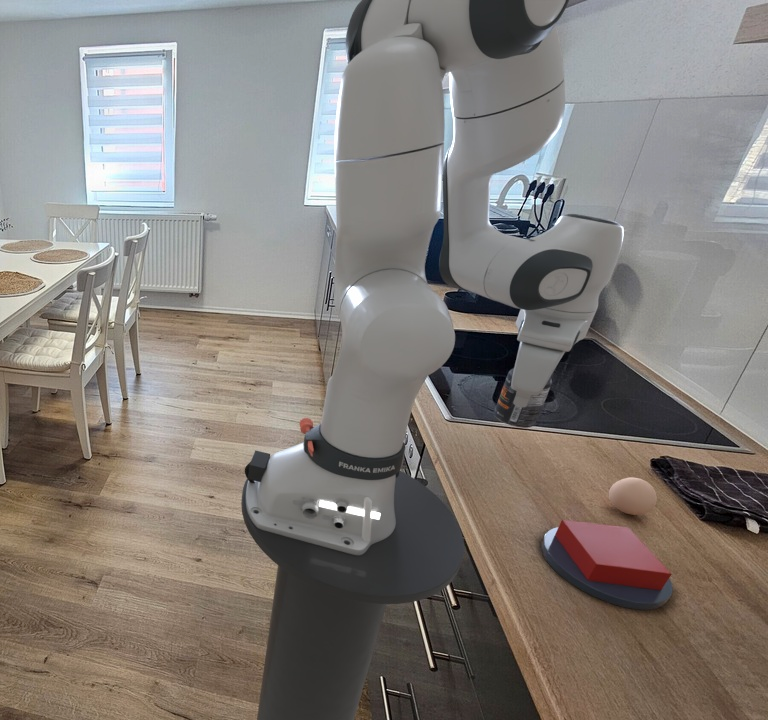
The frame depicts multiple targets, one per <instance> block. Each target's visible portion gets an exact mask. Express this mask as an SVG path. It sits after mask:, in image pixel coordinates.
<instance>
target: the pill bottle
mask: <svg viewBox="0 0 768 720" xmlns="http://www.w3.org/2000/svg"><path fill="white" fill-rule="evenodd" d="M513 371H514V367H513V368H511V369H510V370H508V373H507V376H506V378H505V381H504V383H503V386H502V388H501V391H500V394H499V397H498V400H497V403H496V405H495V408H494V410H493V415H494V417H495V418H496V419H497V420H498V421H500V422H501V423H504V424H506V425H508V426H511V427H515V428H519V429H520V428H521V429H522V428H523V429H524V428H525V429H528V428H533V427H534V426H535V425H536V423H537V422H538V421H537V420H538V418H539V416H540V414H541V411H542V408H543V406H544V403H545V401H546V399H547V397H548V394H549V392H550V389H551V386H552V384H553V379H552V376H551V377H550V378H549V380H548V382H547V384H546V385H545V387H544V388H543V390H542V391H541V393H540V394H539V395H536V396H535V395H531V397H530V399H529V401H528V404H527V406H526V407H520V406H516V405H514V404H513V402H514V399H515V396H516V392H517V391H516V390H513V389H512V388H511V381H512V376H513Z"/></svg>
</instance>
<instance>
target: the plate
mask: <svg viewBox="0 0 768 720" xmlns="http://www.w3.org/2000/svg"><path fill="white" fill-rule="evenodd" d="M558 527H559V526H556V527H553V528H551V529H549V530H548V531H547V532H546V533H545V534H544V536H543V538H542V541H541V546H540V547H541V552H542V555H543V557H544V559H545V561H546V562H547V563H548V564H549V566H550V567H551V568H552V569H553V570H554V571H555V572H556V573H557V574H558V575H559V576H561V577H562V578H563V579H564V580H565V581H567V582H568V583H570V584H571V585H573V586H574V587H576V588H577V589H579V590H581V591H582V592H585V593H586V594H588V595H589V596H591V597H594V598H596V599H598V600H601V601H604V602H606V603H609V604H611V605H616V606H619V607H621V608H622V607H623V608H627V609H631V610H641V611H645V610H646V611H650V610H656V609H659V608H661V607H663V606H664V605H666V603H667V602H668V601H669V600H670V598H671V596H672V595H673V588H674V587H673V583H672V580H671V578H669V579H668V581H667V582H666V584H665V585H664V587H663V589H662V590H654V589H647V588H640V587H632V586H625V585H618V584H610V583H603V582H596V581H588V580H587V579H586V577H585V576H584V574H583V573H582V572H581V570H580V569H579V568H578V566H577V565H576V563H575V562H574V561H573V559H572V558H571V557H570V555H569V554H568V552H567V551H566V550H565V548H564V547H563V546H562V544H561V543H560V541H559V540H558V539H557V537H556V536H555V534H556V532H557V530H558Z"/></svg>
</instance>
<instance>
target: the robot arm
mask: <svg viewBox="0 0 768 720" xmlns="http://www.w3.org/2000/svg"><path fill="white" fill-rule="evenodd" d="M569 3H570V0H360V1H359V3H358V4H357V5H356V6H355V8H354V10H353V12H352V14H351V17H350V19H349V22H348V26H347V29H346V34H345V43H344V45H345V46H344V47H345V48H344V49H345V58H346V62H347V65H346V67H345V69H344V70H343V73H342V75H341V79H340V85H339V90H338V91H339V92H338V98H337V106H336V113H335V114H336V115H335V126H334V127H335V128H334V181H335V184H334V185H335V213H336V214H335V215H336V234H335V248H334V268H333V269H334V273H333V275H334V276H333V282H334V283H333V303H334V304H333V305H334V309H335V312H336V315H337V316H338V318H339V321H340V325H341V333H342V334H341V336H342V337H341V347H340V352H339V355H338V359H337V362H336V365H335V367H334V370H333V373H332V375H331V376H330V377H329V378H328V380H327V383H326V391H325V396H324V402H323V403H324V404H323V407H322V414H321V415H322V416H321V422H319V424H317V425H316V426H314V422H313V421H312V419H311V418H308V417H304V418H302V419H301V420H299V422H298V425H299V427H300V428H299V430H300V432H301V434H303V435H304V438H303V441H302V442H300V443H298V444H295V445H293V446H290V447H287V448H285V449H282V450H280V451H277V452H274V453H272V455H271V453H269V452H264V451H261V450H260V451H259V450H254V452H253V455H252V456H251V457H252V458H251V459H250V461H249V463H247V465H245V467H244V476H245V477H246V479H248V484H247V488H246V508H247V512H248V514H249V517H250V519H251V520H252V522H253V523H254V525H255V526H256V527H257V528H259V529H261V530H264V531H268V532H272V533H275V534H279V535H283V536H286V537H290V538H294V539H297V540H301V541H305V542H308V543H312V544H316V545H319V546H323V547H327V548H331V549H334V550H338V551H342V552H345V553H349V554H353V555H362V554H364V553H365V552H366V551H367V550H368V548H369V547H370V546H371V545H372V544H374V543H376V542H379V541H381V540H383V539H385V538H387V537H388V536H389V535H391V533H392V532H393V531H394V529H395V525H396V518H395V512H394V489H395V481H396V478H397V477H398V476H399V472H400V471H401V470H402V468H403V464H404V459H405V455H406V454H405V453H406V443H405V438H406V433H407V429H408V426H409V422H410V419H411V414H412V410H413V407H414V404H415V400H416V398H417V396H418V394H419V392H420V390H421V388H422V387H423V385H424V383H425V381H426V380H427V378H428V377H429V376H430V375H432V374H433V373H435V372H437V371H438V370H439V369H441V367H442V366H444V365H445V364H446V362H447V361H448V360H449V358H450V357H451V355H452V353H453V351H454V348H455V344H456V343H455V342H456V333H455V328H454V327H455V326H454V323H453V319H452V316H451V313H450V311H449V308H448V306H447V304H446V302H445V301H444V300H443V298H442V297H441V296H440V295H439V294H437V292H436V291H435V290H434V289H433V288H432V287H431V286H430V285H429V283H428V281H427V280H428V279H427V277H426V268H425V267H426V261H427V260H426V259H427V254H428V250H429V246H430V241H431V239H432V234H433V231H434V228H435V227H436V224H437V223H438V221H439V219H440V218H441V217H440V216H441V212H443V214H442V216H443V237H442V238H443V239H442V244H441V250H440V254H439V261H438V269H439V274H440V276H441V279H442V281H443V282H444V283H445V284H446V285H448V286H449V287H450V288H455V289H458V290H460V291H461V290H462V291H465V292H469V293H474V294H476V295H479V296H481V297H484V298H487V299H489V300H491V301H494V302H497V303H500V304H504V305H506V306H509V307H511V308H515V309H519V312H518V315H517V318H516V321H515V327H516V328H517V333H518V334H517V336H516V337H517V338H516V340H517V341H518V342H519V346H518V350H517V354H516V360H515V363H514V366H513V368H514V371H513V376H512V381H511V388H512V389H513V390H516V391H517V392H516V396H515V399H514V402H513V404H514V405H516V406H520V407H526V406H527V404H528V401H529V399H530V397H531V395H535V396H536V395H539V394H540V393H541V391H542V390H543V388H544V387H545V385H546V384H547V382H548V380H549V378H550V377H551V378H552V375H553V374H554V371H555V370H556V368H557V366H558V364H559V363H560V361H561V359H562V358H563V356H564V355H565V354H566V353H567V352H570V351H572V349H573V347H574V346H575V344H576V343H578V342H579V341H582V340H584V339H585V338H586V336H587V334H588V332H589V329H590V326H591V324H592V322H593V320H594V318H595V315H596V312H597V311H598V308H599V298H600V294H601V292H603V289H604V288H605V287H606V286H607V285H608V283H609V282H610V280H611V278H612V275H613V273H614V270H615V268H616V266H617V263H618V261H619V258H620V254H621V250H622V246H623V244H624V243H623V242H624V236H625V233H624V232H625V231H624V226H622V225H621V224H620V223H619V222H617V221H615V220H611V219H607V218H600V217H594V216H589V215H584V214H577V213H567V214H562V215H560V216H559V218H558V219H557V220H556V221H555V223H554V225H553V226H552V227H551V228H550V229H548V230H546V231H544V232H542V233H541V234H538V235H536V236H533V237H529V239H527V238H523V237H519V236H514V235H510V234H506V233H503V232H502V231H499V230H498V229H497V228H495V226H494V225H492V223H491V222H490V208H491V207H490V205H491V184H492V178H493V175H494V174H495V175H496V174H497V173H501V172H503V171H506V170H509V169H510V168H513V167H515V166H517V165H519V164H521V163H523V162H525V161H527V160H529V159H530V158H532V157H534V156H535V155H536V154H538V153H539V152H541V151H542V150H543V149H544V148H546V146H547V145H548V144H549V143H550V142H551V141H552V140H553V138H555V136H556V135H557V133H558V131H559V130H560V129H561V126H562V123H563V120H564V115H565V111H566V86H565V83H566V82H565V69H564V59H563V58H564V56H563V51H562V44H561V38H560V34H559V33H560V32H559V29H558V26H557V24H558V22H559V20H560V19H561V17H562V16H563V14H564V13H565V11H566V8H567V6H568V4H569ZM447 73H448V74H449V97H450V106H451V114H452V121H453V138H452V143H451V144H450V145H449V147H448V148H447V150H446V152H445V129H446V128H445V127H446V126H445V123H446V120H445V99H444V88H443V81H444V79H445V76H446V74H447ZM444 153H445V155H444ZM256 513H257V514H256ZM346 544H347V545H346Z"/></svg>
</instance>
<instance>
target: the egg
mask: <svg viewBox="0 0 768 720" xmlns="http://www.w3.org/2000/svg"><path fill="white" fill-rule="evenodd" d="M608 497H609V501H610V502H611V504H612V505H613V506H614V507H615V508H616V509H617V510H619V511H620V512H622V513H624V514H628V515H633V516H641V515H646V514H648V513H650V512H652V511H653V510H654V508H655V507H656V506H657V502H658V496H657V492H656V490H655V488H654V487H653V485H652V484H650V482H648V481H646V480H644V479H642V478H639V477H633V476H632V477H625V478H621V479H620V480H617V481H615V482H614V483H613V484H612V486H611V487H610V489H609V491H608Z"/></svg>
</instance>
